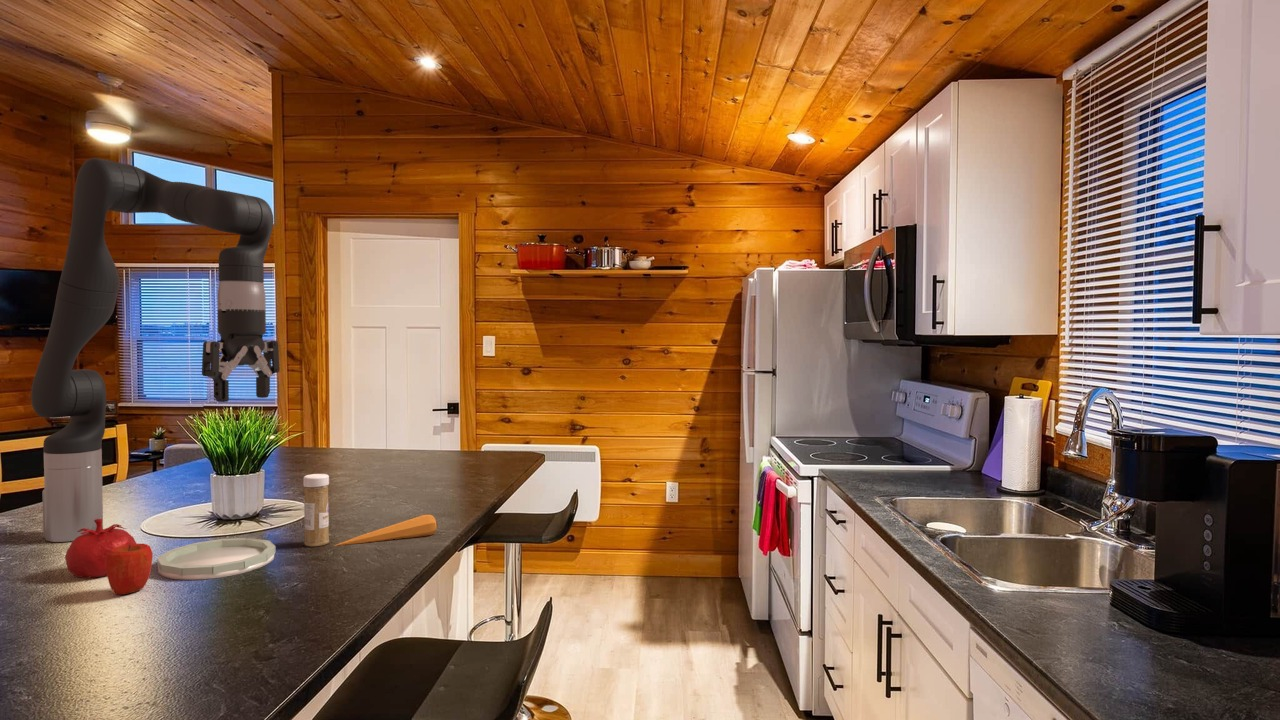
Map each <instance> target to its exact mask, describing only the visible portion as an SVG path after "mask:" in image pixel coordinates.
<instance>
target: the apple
mask: <svg viewBox="0 0 1280 720" xmlns="http://www.w3.org/2000/svg"><path fill="white" fill-rule="evenodd" d="M152 564H153V551H152V548H151V546H150V545H148V544H145V543H137V544H129V545H125V546H119V547H115V548H113V549H111V550H110V551H109V552H108V553H107V556H106V573H107V575H106V576H107V577H106V578H107V580H108V583H109V586H110V589H111V590H112V591H113V593H114V594H116V595H119V596H122V595H128V594H131V593H135V592H139V591H141V590H142V589H144V587H145V586H146V585H147V582H148V580H149V578H150V575H151V571H152V566H153V565H152Z"/></svg>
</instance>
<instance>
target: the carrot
mask: <svg viewBox="0 0 1280 720" xmlns="http://www.w3.org/2000/svg"><path fill="white" fill-rule="evenodd" d="M437 529H438V521H437V519H436V518H435V517H434V516H433V515H432V514H423V515H419V516H417V517H413V518H411V519H407V520H404V521H400V522H397V523H395V524H392V525H388V526H386V527H382V528H380V529H376V530H373V531H370V532H367V533H363V534H361V535H358V536H355V537H352V538H350V539H347V540H345V541H343V542H340V543H337V544H334V545H333V547H334V546H335V547H337V546H338V545H339V546H346V545H348V546H349V545H356V544H357V545H358V544H366V543H367V544H368V543H375V542H376V543H377V542H386V541H392V540H393V539H395V540H401V539H402V538H404V539H410V538H420V537H428V536H429V537H430V536H432V535H434V534H436V530H437ZM385 540H386V541H385ZM393 541H394V540H393Z"/></svg>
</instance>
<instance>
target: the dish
mask: <svg viewBox="0 0 1280 720" xmlns="http://www.w3.org/2000/svg"><path fill="white" fill-rule="evenodd" d="M276 550H277V549H276V545H275V544H274V543H273V542H271V541H270V540H269V539H267V540H266V539H258V538H253V537H238V538H237V537H236V538H234V537H233V538H219V539H212V540H205V541H200V542H193V543H189V544H186V545H183V546H179V547H175V548H173V549H169V550H168V551H165V552H164V553H163V554H161V555H159V556H158V557H157V558H156V561H157V562H156V565H157V571H158V574H159V575H160V576H161V577H164V578H167V579H171V580H173V579H174V580H182V581H183V580H184V581H185V580H186V581H190V580H191V581H194V580H196V581H197V580H212V579H219V578H225V577H231V576H237V575H241V574H244V573H248V572H252V571H255V570H258V569H260V568H263V567H265V566H267V565H269V564H271V562H273V560H274V559H275V554H276V552H277V551H276Z"/></svg>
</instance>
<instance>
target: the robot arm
mask: <svg viewBox="0 0 1280 720" xmlns="http://www.w3.org/2000/svg"><path fill="white" fill-rule="evenodd" d="M108 211H109V212H115V213H116V212H117V213H124V214H139V213H140V214H141V213H143V214H145V213H156V214H164V215H167V216H169V217H170V218H173V219H175V220H178V221H182V222H184V223H190V224H194V225H198V226H201V227H202V226H203V227H206V228H209V229H212V230H215V231H220V232H223V233H228V234H229V233H230V234H235V235H237V234H238V235H239V239H238V241H237V243H236V246H232V247H230V246H229V247H227V248H225V247H224V248H223V249H221V251H220V252H219V254H218V288H217V295H216V297H217V298H216V300H217V301H216V302H217V333H218V334H219V335H220V340H219V341H217V340H216V341H214V340H209V341H208V340H206V341H203V343H202V362H201V375H202V376H203V377H207V378H210V379H212V380H213V396H214V397H213V398H214V400H215V401H216V402H217V403H228V402H229V400H230V399H229V398H230V397H229V395H230V393H229V392H230V391H229V390H230V389H229V388H230V387H229V385H230V384H229V382H230V381H229V380H227V379H228V378H229V376H230V375H231V373H232V372H233V371H234V370H235V369H237V366H238V367H241V366H248V367H249V368H251V369H252V370H253V372H254V373H255V375H256V377H255V384H256V385H255V386H256V387H255V388H256V389H255V394H256V395H255V396H256V398H258V399H259V398H260V399H265V398H269V394H270V392H271V377H272V375H274V374H278V373H279V372H280V355H279V354H280V352H279V342H278V340H264V338H263V337H264V335H265V334H266V332H267V324H266V323H267V319H266V315H267V313H266V312H267V311H266V304H267V302H266V292H265V291H266V290H265V284H264V283H265V280H264V279H265V277H264V276H265V275H264V271H265V270H264V269H265V268H264V260H265V257H266V253H267V250H268V246H269V242H270V239H271V235H272V231H273V228H274V214H273V211H272V208H271V206H270V204H269V203H268V202H267V201H266V200H264V199H263V198H262V197H258V196H254V195H249V194H243V193H239V192H235V191H229V190H224V189H216V188H213V187H209V186H205V185H200V184H195V183H191V182H184V181H171V180H168V179H167V180H166V179H164V178H162V177H159V176H156V175H155V174H153V173H151V172H148V171H146V170H144V169H142V168H139V167H137V166H134V165H132V164H128V163H124V162H123V163H121V162H119V161H118V162H117V161H114V160H113V161H112V160H110V159H103V158H98V157H92V158H91V157H90V158H88V159H87V160H85V161H84V162H83V163H82V164H81V166H80V168H79V170H78V172H77V177H76V181H75V186H74V194H73V204H72V214H71V215H72V216H71V224H70V225H71V226H70V230H69V231H70V232H69V239H68V243H67V249H66V254H65V259H64V264H63V267H62V270H61V275H60V279H59V283H58V287H57V293H56V297H55V298H56V299H55V302H54V303H55V304H54V309H53V313H52V319H51V323H50V327H49V331H48V335H47V338H46V343H45V345H44V348H43V350H42V353H41V356H40V360H39V361H38V362H39V363H38V365H37V368H36V371H35V374H34V376H33V377H34V378H33V381H32V385H31V391H30V392H31V393H30V401H31V406H32V409H33V411H34V413H36V414H37V416H39V417H41V418H46V419H55V418H67V417H69V421H68V423H67V424H66V425H65V426H64V427H63V428H62V429H60V430H58V431H56V432H54V433H52V434H50V435H48V436H46V437H45V438H44V439H43V469H44V471H43V478H44V481H43V483H44V489H43V490H42V499H41V500H42V531H43V532H42V536H43V538H45V541H47V542H55V543H59V542H60V543H62V542H63V543H65V542H73V541H74V540H75V538H77V537H78V536H81V535H83V534H81V533H83V532H85V531H80V532H77V531H79V530H81V529H83V528H85V529H89V530H96V523H95V522H94V520H96V519H103V521H102V527H103V528H104V518H103V517H104V515H103V513H104V504H103V500H104V498H103V458H102V457H103V456H102V455H103V450H102V448H103V447H102V441H103V438H104V436H105V433H106V414H107V413H106V411H107V389H106V388H107V387H106V385H105V381H104V378H103V377H102V376H101V374H100V373H99V372H98V371H96V370H93V369H86V368H85V369H73V368H74V365H75V362H76V360H77V358H78V355H79V354H80V353H81V350H82V349H83V348H84V347H85V345H87V343H88V342H89V341H90V340H91V339H92V338H93V337H94V336H95V335H96V334H97V333H98V332H100V330H101V329H102V328H103V327H104V326H105V324H106V323H107V322H108V321H109V320H110V318H111V316H112V315H113V314H114V311H115V307H116V303H117V299H118V294H119V290H120V285H121V281H120V279H121V278H120V275H119V272H118V269H117V265H116V264H115V261H114V260H113V258H112V255H111V253H110V250H109V248H108V246H107V244H106V243H107V242H106V238H105V226H106V225H105V224H106V219H107V214H108ZM220 353H221V355H220ZM88 533H89V532H88ZM85 534H86V533H85Z"/></svg>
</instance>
